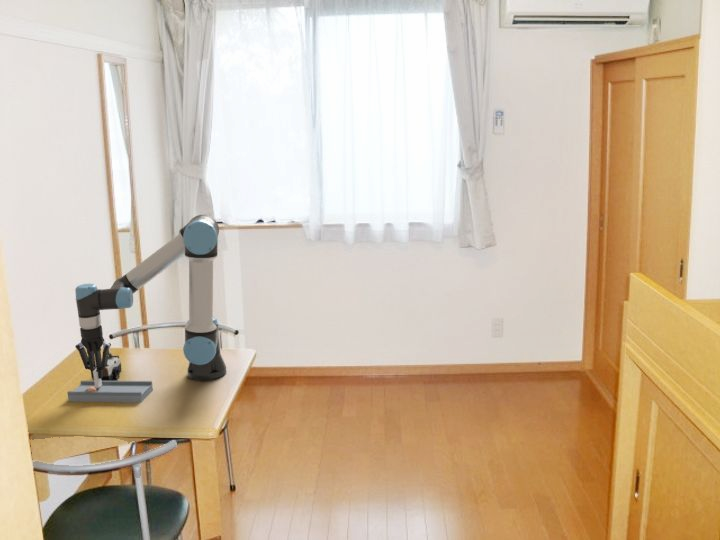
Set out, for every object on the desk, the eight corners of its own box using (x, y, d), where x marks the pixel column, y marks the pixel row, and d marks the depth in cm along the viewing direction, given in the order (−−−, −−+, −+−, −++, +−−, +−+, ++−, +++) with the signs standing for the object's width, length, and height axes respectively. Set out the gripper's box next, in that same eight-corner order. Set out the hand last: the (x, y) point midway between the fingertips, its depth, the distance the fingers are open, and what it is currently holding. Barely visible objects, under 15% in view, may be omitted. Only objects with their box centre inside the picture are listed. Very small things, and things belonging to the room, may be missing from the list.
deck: (152, 390, 285) (151, 380, 284) (141, 402, 274) (140, 392, 273) (82, 389, 288) (81, 380, 287) (68, 401, 277) (67, 392, 276)
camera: (113, 385, 291) (110, 360, 289) (94, 385, 292) (91, 361, 289) (126, 370, 306) (124, 347, 304) (108, 370, 306) (105, 347, 304)
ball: (88, 385, 283) (89, 394, 283) (84, 388, 279) (85, 397, 280) (97, 385, 282) (98, 394, 283) (93, 388, 279) (94, 397, 280)
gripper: (112, 322, 278) (119, 382, 283) (78, 322, 279) (86, 382, 285) (103, 329, 270) (111, 390, 276) (68, 329, 272) (77, 390, 278)
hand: (98, 386), depth 280 cm, fingers closed
